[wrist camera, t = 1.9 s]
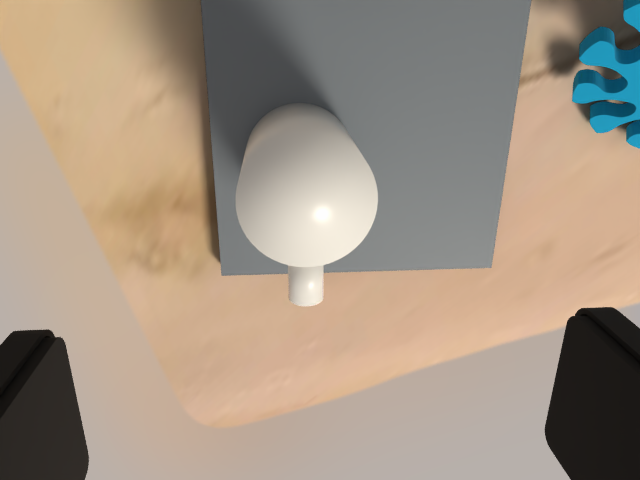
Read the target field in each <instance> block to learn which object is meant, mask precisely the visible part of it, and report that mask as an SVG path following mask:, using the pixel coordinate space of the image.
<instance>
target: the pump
mask: <svg viewBox="0 0 640 480" xmlns="http://www.w3.org/2000/svg"><path fill="white" fill-rule="evenodd" d="M377 205H378V191H377V185H376V181H375V178H374V175H373V173H372V171H371V168H370V167H369V165H368V163H367V162H366V160H365V159H364V157H363V155H362V154H361V152H360V151H359V149H358V148H357V146H356V144H355V143H354V141H353V140H352V138H351V137H350V135H349V133H348V132H347V130H346V129H345V127H344V126H343V124H342V123H341V122H340V121H339V119H338V118H336V117H335V116H334V115H333V114H332V113H330V112H329V111H327V110H325V109H323V108H321V107H319V106H316V105H313V104H308V103H291V104H287V105H283V106H280V107H277V108H276V109H274V110H272V111H270V112H269V113H267V114H266V115H265V116H264V117H262V118H261V119H260V120H259V122H258V123H257V124H256V125H255V127H254V128H253V130H252V132H251V134H250V136H249V139H248V142H247V146H246V150H245V154H244V159H243V163H242V167H241V171H240V176H239V180H238V184H237V189H236V212H237V216H238V220H239V223H240V225H241V228H242V230H243V232H244V233H245V235H246V237H247V238H248V239H249V241H250V242H251V243H252V244H253V245H254V246H255V247H256V248H257V249H258V250H259V251H260V252H262V253H263V254H264V255H266V256H267V257H269V258H271V259H273V260H275V261H277V262H280V263H282V264H286V265H288V279H289V300H290V301H291V302H292V303H293V304H296V305H299V306H313V305H316V304H318V303H320V302H321V301H322V300H323V270H324V265H326V264H329V263H332V262H334V261H336V260H339V259H341V258H342V257H344V256H346V255H347V254H349V253H350V252H351V251H353V250H354V249H355V248H356V247H357V246H358V245H359V244H360V243H361V242H362V241H363V239H364V238H365V237H366V235H367V234H368V232H369V230H370V229H371V227H372V224H373V222H374V219H375V216H376V212H377Z"/></svg>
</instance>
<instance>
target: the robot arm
mask: <svg viewBox="0 0 640 480" xmlns="http://www.w3.org/2000/svg"><path fill="white" fill-rule="evenodd" d="M545 436H546V440H547V443H548V445H549V447H550V449H551V451H552V452H553V454H554V455H555V457H556V458H557V460H558V461H559V463H560V464H561V465H562V467H563V469H564V470H565V471H566V473H567V474H568V476H569V477H570V479H571V480H640V328H638V327H637V326H636V325H635V324H634V323H632V322H631V321H630V320H629V319H627V318H626V317H625V316H624V315H623V314H621V313H620V312H619V311H618V310H616V309H614V308H612V307H602V308H581V309H580V310H578V311H577V313H576V314H575V316H572V317H570V318H569V320H568V322H567V325H566V330H565V335H564V339H563V344H562V349H561V354H560V358H559V363H558V368H557V373H556V377H555V382H554V387H553V392H552V396H551V401H550V406H549V411H548V416H547V420H546V425H545ZM88 462H89V456H88V450H87V445H86V440H85V435H84V431H83V426H82V421H81V416H80V412H79V407H78V402H77V397H76V393H75V388H74V383H73V378H72V373H71V369H70V364H69V359H68V354H67V349H66V345H65V342H64V340H63V339H62V338H61V337H55V336H54V334H53V332H52V331H50V330H25V331H13V332H12V333H11V334H10V335H9V336H8V337H7V338H6V339H5V341H4V342H3V343H2V344H1V345H0V480H85V477H86V474H87V470H88Z"/></svg>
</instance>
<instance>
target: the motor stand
mask: <svg viewBox="0 0 640 480" xmlns="http://www.w3.org/2000/svg"><path fill="white" fill-rule="evenodd" d="M530 6H531V0H201V10H202V23H203V37H204V50H205V63H206V76H207V89H208V103H209V116H210V129H211V142H212V155H213V169H214V182H215V195H216V208H217V221H218V235H219V248H220V261H221V274H222V276H226V275H260V274H288V265H286V264H282V263H280V262H277V261H275V260H273V259H271V258H269V257H267V256H266V255H264V254H263V253H262V252H260V251H259V250H258V249H257V248H256V247H255V246H254V245H253V244H252V243H251V242H250V241H249V239H248V238H247V237H246V235H245V233H244V232H243V230H242V228H241V225H240V223H239V220H238V216H237V212H236V189H237V184H238V180H239V176H240V171H241V167H242V163H243V159H244V154H245V150H246V146H247V142H248V139H249V136H250V134H251V132H252V130H253V128H254V127H255V125H256V124H257V123H258V122H259V120H260V119H261V118H262V117H264V116H265V115H266V114H267V113H269V112H270V111H272V110H274V109H276V108H277V107H280V106H283V105H287V104H291V103H308V104H313V105H316V106H319V107H321V108H323V109H325V110H327V111H329V112H330V113H332V114H333V115H334V116H335V117H336V118H338V119H339V121H340V122H341V123H342V124H343V126H344V127H345V129H346V130H347V132H348V133H349V135H350V137H351V138H352V140H353V141H354V143H355V144H356V146H357V148H358V149H359V151H360V152H361V154H362V155H363V157H364V159H365V160H366V162H367V163H368V165H369V167H370V168H371V171H372V173H373V175H374V178H375V181H376V185H377V191H378V205H377V212H376V216H375V219H374V222H373V224H372V227H371V229H370V230H369V232H368V234H367V235H366V237H365V238H364V239H363V241H362V242H361V243H360V244H359V245H358V246H357V247H356V248H355V249H354V250H353V251H351V252H350V253H349V254H347V255H346V256H344V257H342V258H341V259H339V260H336V261H334V262H332V263H329V264H326V265H324V270H323V273H329V272H363V271H397V270H432V269H466V268H491V267H492V260H493V253H494V247H495V240H496V233H497V227H498V220H499V213H500V207H501V200H502V193H503V186H504V180H505V173H506V166H507V160H508V153H509V146H510V140H511V133H512V126H513V120H514V113H515V106H516V100H517V93H518V86H519V79H520V73H521V66H522V59H523V53H524V46H525V39H526V33H527V26H528V19H529V13H530Z"/></svg>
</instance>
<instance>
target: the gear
mask: <svg viewBox="0 0 640 480" xmlns="http://www.w3.org/2000/svg"><path fill="white" fill-rule="evenodd" d="M623 16H624V20H625V21H626V22H627V23H628V24H629V25H631V26H633V27H635V28H636V29H637V30H638V31H639V32H640V0H623ZM579 59H580V61H581V62H582V63H584V64H586V65H593V66H603V67H607V68H610V69H613V70H615V71H617V72H618V73H619V74H621V75H622V76H623V77H621V78H618V79H614V80H609V79H605V78H604V77H602V76H601V75H600V74H599V73H598V72H596V71H594V70H590V69H585V70H580V71H578V73H577V74H576V76H575V78H574V82H573V97H572V101H573V102H575V103H582V104H583V103H589V102H593V101H598V100H619V101H625V102H629V103H625V104H616V103H611V102H598V103H595V104H593V105H591V106H590V124H591V126H592V128H593V129H594V130H595V132H596V133H604V132H608V131H611V130H612V129H614V128H615V127H617V126H619V125H621V124H624V123H627V122H630V121H634V120H638V121H635V122H633V123H631V124H629V125H628V126H627V128H626V141H627V142H628V143H629V144H630V145H632V146H634V147H637V148H640V45H639V46H638V47H636V48H634V49H631V50H621V49H619V48H617V47H616V45H615V36H614V33H613V31H612V30H611V29H609V28H606V27H599V28H597V29H595V30H594V31H592V32H591V33H590V34H589V35H588V36H587V37H586V38H585V39H584V40H583V41H582V42H581V43H580V47H579Z"/></svg>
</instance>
